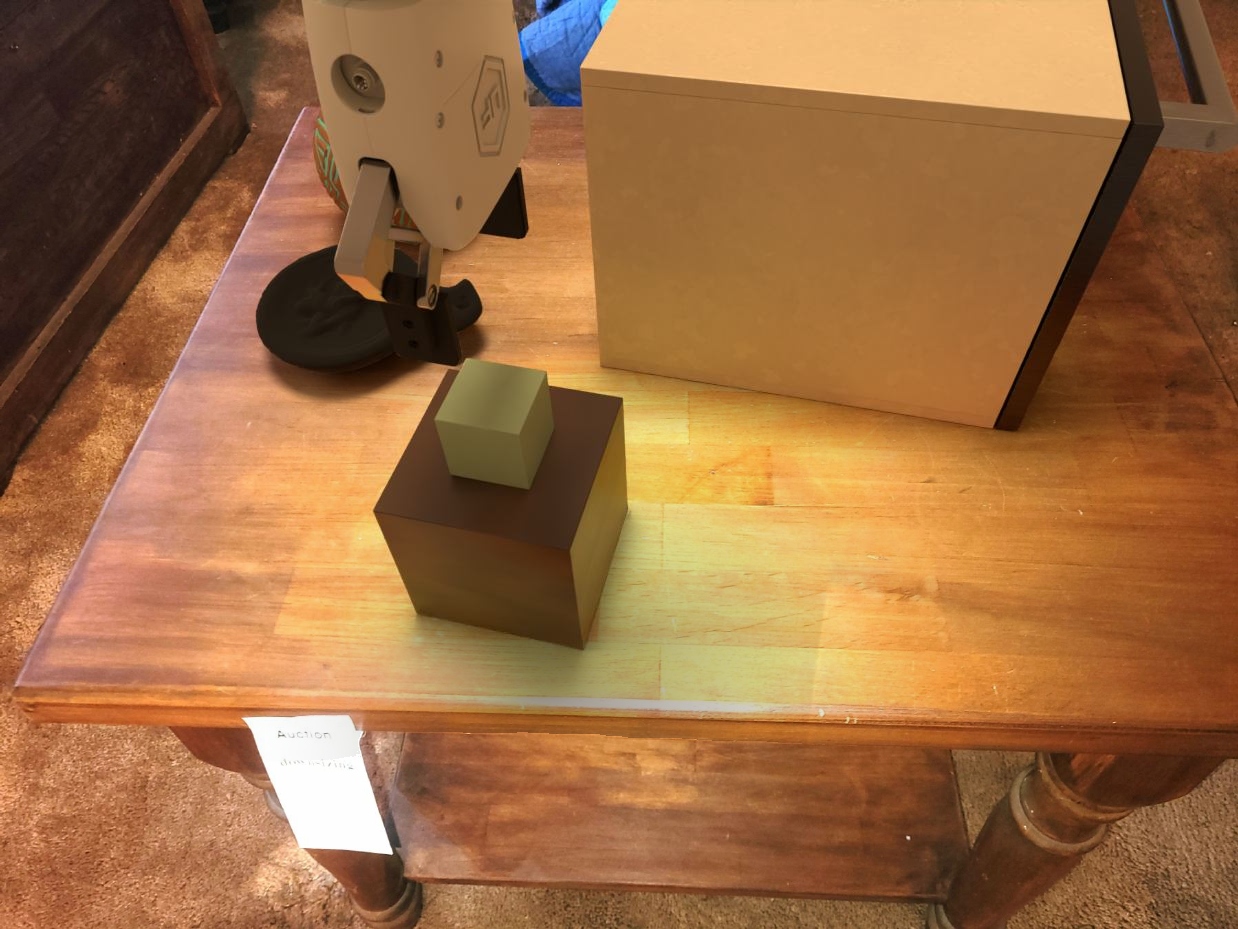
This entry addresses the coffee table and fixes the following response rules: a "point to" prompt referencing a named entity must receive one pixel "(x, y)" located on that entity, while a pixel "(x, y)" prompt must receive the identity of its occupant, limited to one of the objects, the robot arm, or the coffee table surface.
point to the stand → (513, 525)
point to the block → (496, 423)
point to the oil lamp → (337, 315)
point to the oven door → (1132, 166)
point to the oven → (843, 190)
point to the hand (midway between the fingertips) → (467, 291)
